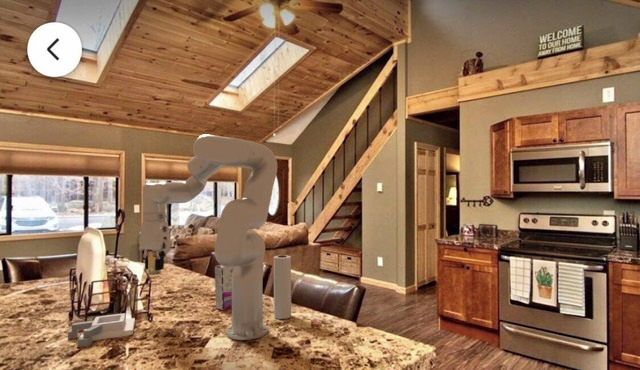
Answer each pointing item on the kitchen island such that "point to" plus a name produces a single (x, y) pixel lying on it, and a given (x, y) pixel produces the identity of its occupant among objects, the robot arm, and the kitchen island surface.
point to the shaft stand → (102, 329)
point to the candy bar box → (223, 287)
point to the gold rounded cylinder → (152, 263)
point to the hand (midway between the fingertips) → (154, 268)
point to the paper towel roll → (282, 286)
